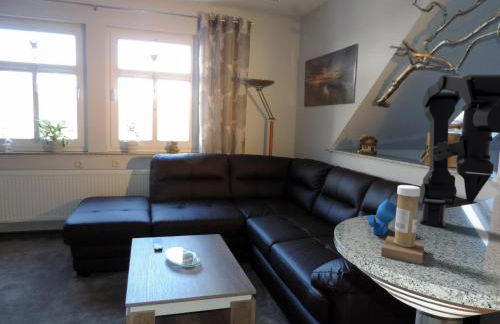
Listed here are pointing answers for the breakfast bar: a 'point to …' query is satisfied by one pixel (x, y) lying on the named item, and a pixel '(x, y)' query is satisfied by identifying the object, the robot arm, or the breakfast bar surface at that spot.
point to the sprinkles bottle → (406, 215)
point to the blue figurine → (382, 217)
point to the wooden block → (403, 251)
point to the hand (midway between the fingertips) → (468, 197)
